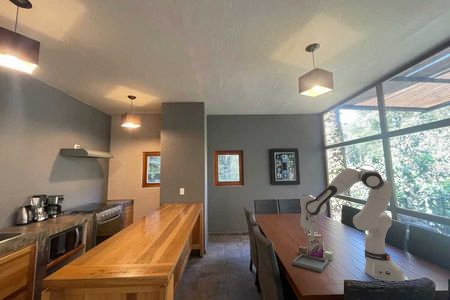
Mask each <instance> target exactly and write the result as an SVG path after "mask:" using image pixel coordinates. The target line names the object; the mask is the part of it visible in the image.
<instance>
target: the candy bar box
mask: <svg viewBox="0 0 450 300" xmlns="http://www.w3.org/2000/svg"><path fill="white" fill-rule="evenodd" d="M310 234H311V233H308V234H306V235H307V255H309V256H314V257H318V258H324V251H323V243H322V242H323V236H322V234H315V233H314V237H311V235H310Z"/></svg>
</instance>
